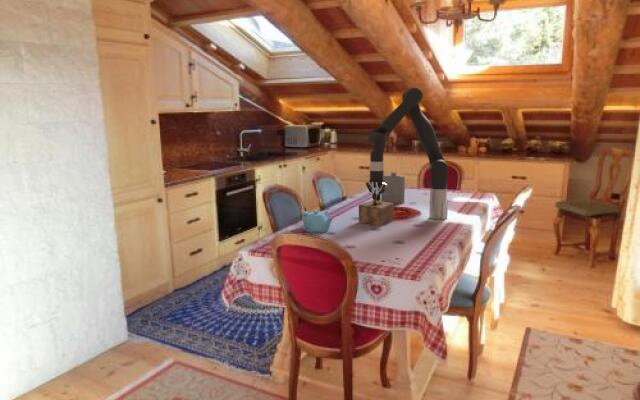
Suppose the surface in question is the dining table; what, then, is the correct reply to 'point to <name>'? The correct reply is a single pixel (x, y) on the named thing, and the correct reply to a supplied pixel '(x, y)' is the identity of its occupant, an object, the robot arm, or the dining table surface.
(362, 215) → the box
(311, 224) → the teapot
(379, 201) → the wooden block
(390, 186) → the hip flask
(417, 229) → the dining table surface
